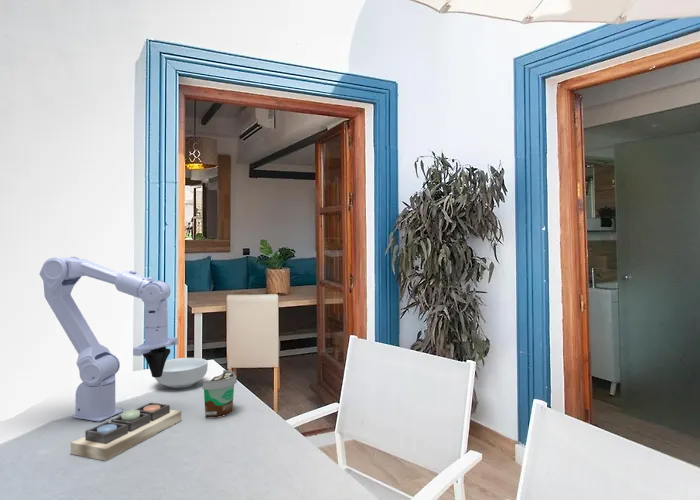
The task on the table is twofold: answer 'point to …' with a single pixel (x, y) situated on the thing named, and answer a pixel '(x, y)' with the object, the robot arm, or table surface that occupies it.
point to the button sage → (130, 415)
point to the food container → (219, 394)
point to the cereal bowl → (183, 372)
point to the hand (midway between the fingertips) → (156, 376)
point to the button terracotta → (151, 408)
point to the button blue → (107, 428)
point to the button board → (124, 433)
